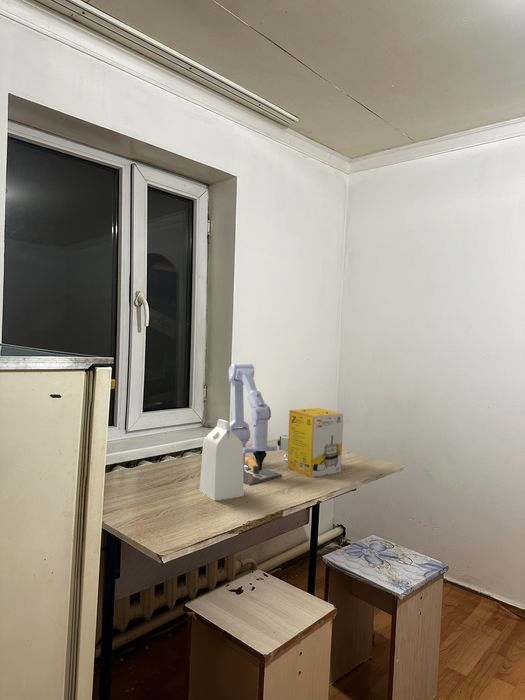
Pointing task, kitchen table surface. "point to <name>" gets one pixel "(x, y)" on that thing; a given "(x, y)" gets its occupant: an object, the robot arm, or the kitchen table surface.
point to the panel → (251, 479)
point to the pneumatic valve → (283, 445)
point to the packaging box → (315, 441)
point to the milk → (222, 463)
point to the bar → (252, 464)
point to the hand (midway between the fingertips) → (259, 469)
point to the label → (260, 476)
